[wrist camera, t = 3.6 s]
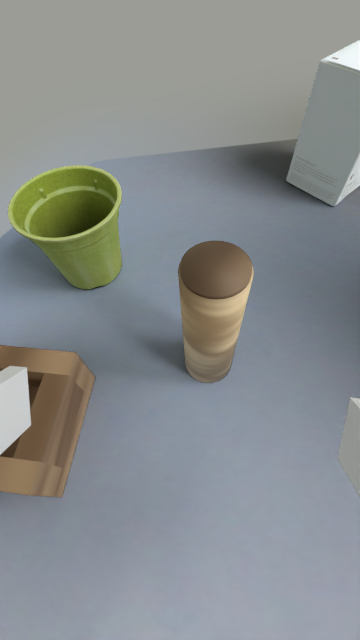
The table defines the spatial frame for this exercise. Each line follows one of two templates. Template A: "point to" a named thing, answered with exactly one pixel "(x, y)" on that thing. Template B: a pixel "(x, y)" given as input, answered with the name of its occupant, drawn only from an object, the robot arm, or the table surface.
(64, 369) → the socket block
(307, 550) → the table surface
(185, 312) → the dowel
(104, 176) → the plant pot
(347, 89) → the supplement box
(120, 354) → the table surface
